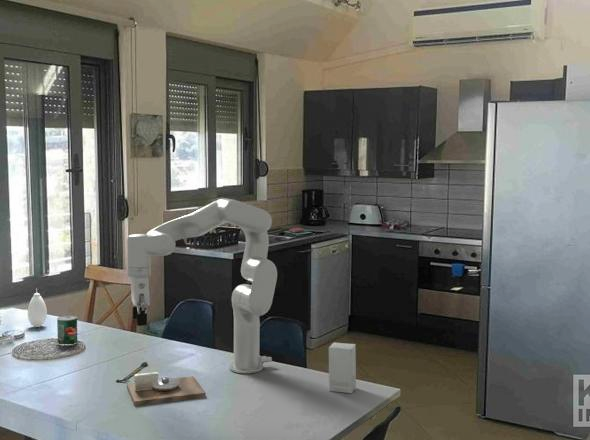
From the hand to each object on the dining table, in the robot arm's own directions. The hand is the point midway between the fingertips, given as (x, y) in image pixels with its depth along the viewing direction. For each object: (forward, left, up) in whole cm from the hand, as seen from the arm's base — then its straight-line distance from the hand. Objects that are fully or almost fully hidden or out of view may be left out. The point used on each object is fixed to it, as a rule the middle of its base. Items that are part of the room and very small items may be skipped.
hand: (139, 321), depth 229 cm
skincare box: (-64, +24, -24) cm, 72 cm away
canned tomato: (+20, -63, -24) cm, 70 cm away
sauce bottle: (+31, -94, -24) cm, 102 cm away
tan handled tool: (-1, -16, -24) cm, 29 cm away
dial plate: (-7, +6, -23) cm, 25 cm away
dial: (-5, +6, -21) cm, 23 cm away
